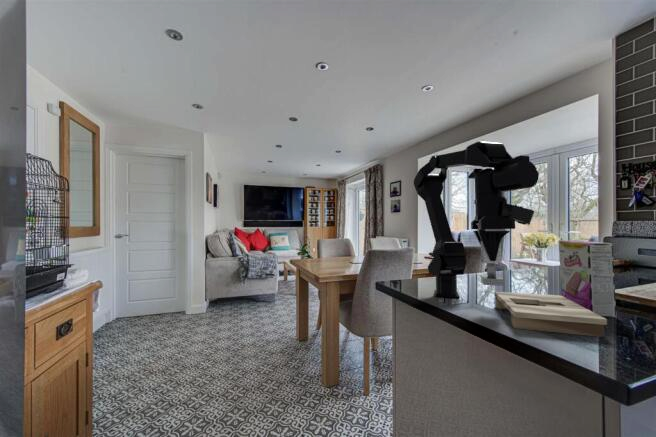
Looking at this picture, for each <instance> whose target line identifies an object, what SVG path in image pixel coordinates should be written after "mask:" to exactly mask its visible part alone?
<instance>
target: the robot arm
mask: <svg viewBox="0 0 656 437" xmlns="http://www.w3.org/2000/svg"><path fill="white" fill-rule="evenodd" d="M464 166H471V167H475V168H473V170H472V172H470V173H469V175H468V177H467V178H468V179H472V180H474V194H475V196H474V197H475V198H474V200H473V201H474V202H473V204H474V205H475V216H474V219H473V220H472V221H471V222H470V229H471V230H473V233H474V235H475V237H476V239H477V241H478V244H479V246H481V241H482V243H483V245H484V248H485V250H486V253H487V255H488V257H489V259H490V261H496V258H497V254H498V250H499V246H500V242H501V243H502V239H503V237H505V236H506V235H507V234H509V233H510V232H511V230H515V229H516V223H518V224H521V225H530V224H531V222H532V219H533V216H534V213H535V210H533V209H529V208H526V207H523V206H521V205H520V206H519V205H517V204H511V203H508V199H507V198H506V196H504V192H512V191H519V190H523V189H531V188H532V187H534V186H535V185H537V183H538V181H539V174H540V173H539V170H538V169H537V167H536V166H535V164H534V163H533V162H532V161H530V156H529V155H523V154H522V155H521V154H520V155H518V156H515V157H514V158H513V156H512V155H511V154H510V153H509V152H508V151H507V148H506V146H505V145H504V143H502V142H493V141H492V142H491V141H475V142H474V143H471V144H469V145H467V146H466V147H465V149H462V150H457V151H452V152H449V153H443V154H434V155H432V156H431V157H430V159H429V161H428V162H427V163H425V165H423V166H422V167H420V168H419V170H418V172H417V173H416V175H415V177H414V179H413V186H414V188H415V191H416V194H417V195H418V196H419V197H420V198H421V199H422V200H423V201H424V204H425V206H426V207H425V208H426V211H427V214H428V219H429V223H430V225H431V229H432V234H433V238H434V241H435V244H434V248H433V250H432V256H433V258H432V259H431V261H429V264H428V265H427V270H428V274H430V275H432V276H435V290H434V291H433V292H434V297H438V298H452V299H453V298H454V299H461V298H460V297H461V296H460V294H459V292H458V285H457V284H458V281H457V280H458V279H457V278H458V277H457V275H461V276H462V275H464V274H465V271H466V270H465V269H466V266H467V263H468V262H467V261H468V260H467V256H468V254H467V253H466V250H465V246H464V243H463V242H462V241H456V240H455V238H454V236H453V233H452V231H451V227H450V223H449V220H448V216H447V213H446V210H445V206H444V203H443V199H442V196H441V195H442V193H443V190H444V183H445V181H446V180H447V178H448V176H447V175H448V169H449V168H455V167H456V168H457V167H464ZM476 167H481V168H476ZM483 168H484V169H483ZM435 169H437V170H438V169H440V172H439V173H432V172H434V171H435Z"/></svg>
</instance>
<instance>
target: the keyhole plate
mask: <svg viewBox="0 0 656 437" xmlns="http://www.w3.org/2000/svg"><path fill="white" fill-rule="evenodd" d="M494 297H495V307H496V308H497V310H498V309H499V310H508V311H509V312H510V318H511V320H510V323H511V327H513V329H517V330H518V329H519V330H527V331H539V332H549V333H559V334H569V335H579V336H591V337H599V338H600V337H601V338H605V326H608V319H607V318H606V317H602V316H600V315H598V314H596V313H594V312H592V311H590V310H588V309H586V308H584V307H582V306H580V305H578V304H577V303H575V302H573V301H571V300H569V299H567V298H565V297H563V296H562V295H559V294H558V295H557V294H542V293H541V294H538V293H527V292H526V293H525V292H510V291H509V292H508V291H507V292H506V291H494Z"/></svg>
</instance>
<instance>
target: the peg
mask: <svg viewBox="0 0 656 437" xmlns="http://www.w3.org/2000/svg"><path fill="white" fill-rule="evenodd" d="M480 256H481V257H480V258H481V259H480V260H481V263H483V264H486V273H487V275H480V282H481V284H482V285H484V286H496V287H497V286H500V287H504V286H505V285H504V284H505V283H504V281H505V280H504V278H503V277H501V276H497V264H502V263H503V262H502V241H501V242H500V246H499V250H498V254H497V258H496V261H490V259H489V257H488V255H487V253H486V250H485V248H484V245H483V243H482V241H481V245H480Z"/></svg>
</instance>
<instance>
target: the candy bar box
mask: <svg viewBox="0 0 656 437" xmlns="http://www.w3.org/2000/svg"><path fill="white" fill-rule="evenodd" d="M558 246H559V247H558V249H559V251H558V252H559V266H560V267H559V269H560V289H561V296H563V297H565V298H567V299H569V300H571V301H573V302H575V303H577V304H578V305H580V306H582V307H584V308H586V309H588V310H590V311H592V312H594V313H596V314H598V315H600V316H602V317H603V318H617V305H616V304H617V302H616V284H615V266H614V265H615V263H614V248H613V247H614V244H613V243H612V242H610V243H609V242H599V241H598V242H597V241H589V240H573V239H572V240H559V241H558Z"/></svg>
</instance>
